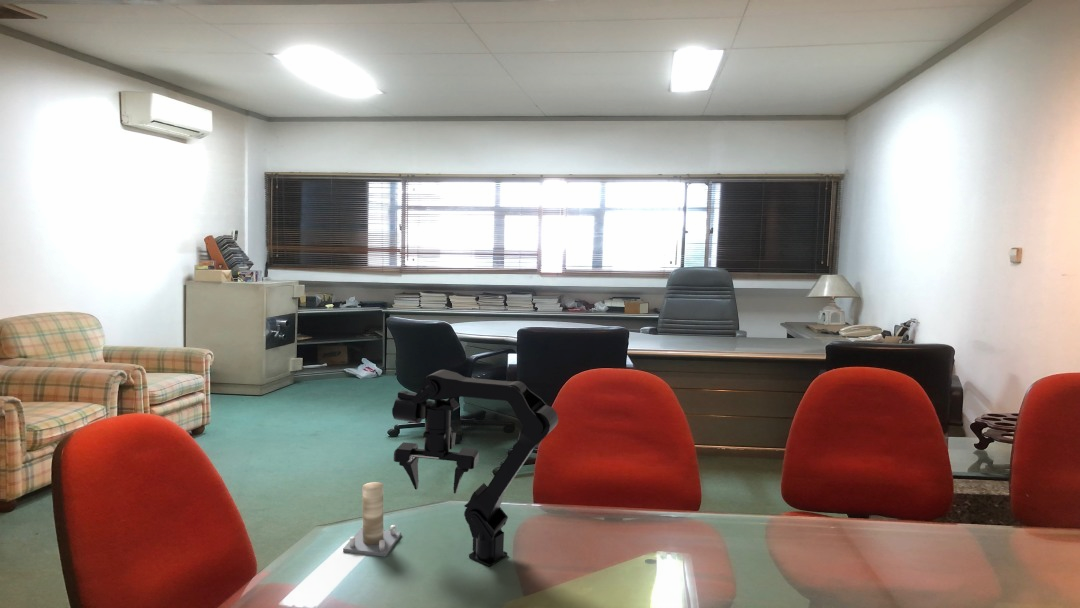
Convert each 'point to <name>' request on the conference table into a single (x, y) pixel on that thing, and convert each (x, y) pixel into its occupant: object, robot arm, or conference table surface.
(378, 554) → the peg plate
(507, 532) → the conference table surface
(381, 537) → the birch post
